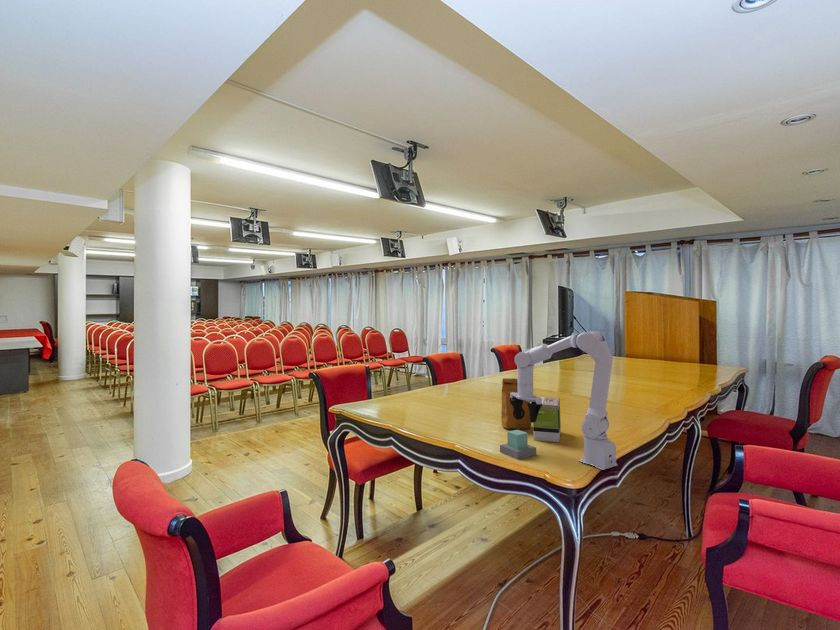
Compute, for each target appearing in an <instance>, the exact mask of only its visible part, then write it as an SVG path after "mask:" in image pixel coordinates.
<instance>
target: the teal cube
mask: <svg viewBox="0 0 840 630" xmlns="http://www.w3.org/2000/svg"><path fill="white" fill-rule="evenodd" d="M506 433H507V435H506V436H507V437H506V438H507V443H508V446H510V447H513V448H515V449H521V448H525V447H528V445H529V444H528V437H529V436H528V435H529V434H528V432H526V431H523V430H521V429H513V430H510V431H509V430H508V431H506Z"/></svg>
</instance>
